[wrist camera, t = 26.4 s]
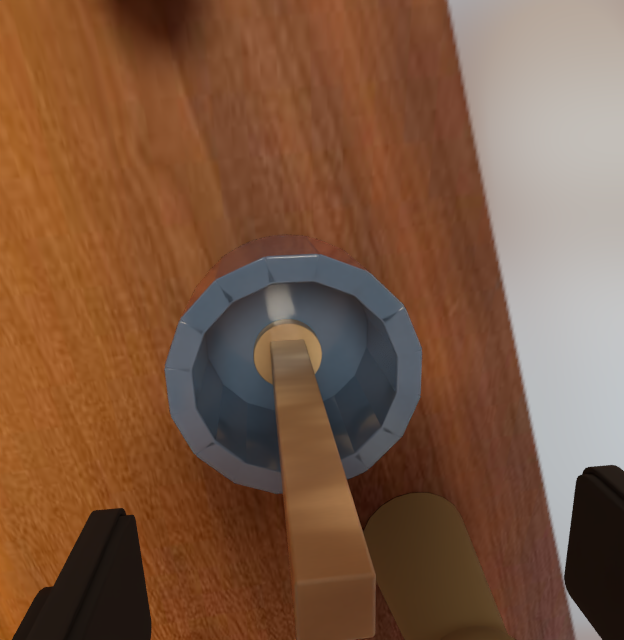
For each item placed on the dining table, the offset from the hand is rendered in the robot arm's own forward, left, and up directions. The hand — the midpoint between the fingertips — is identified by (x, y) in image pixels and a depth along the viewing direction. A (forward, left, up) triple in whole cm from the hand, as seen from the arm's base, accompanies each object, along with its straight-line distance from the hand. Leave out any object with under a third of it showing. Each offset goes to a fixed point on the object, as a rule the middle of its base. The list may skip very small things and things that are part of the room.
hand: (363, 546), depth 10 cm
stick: (+1, +1, -14) cm, 14 cm away
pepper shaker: (-6, +13, -15) cm, 21 cm away
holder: (+1, 0, -15) cm, 15 cm away
